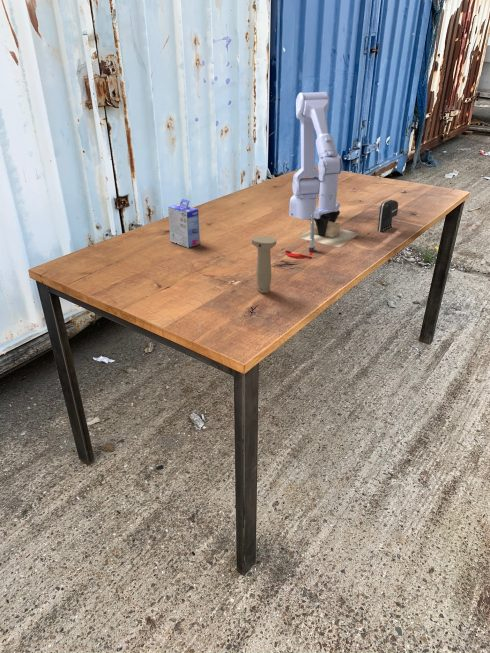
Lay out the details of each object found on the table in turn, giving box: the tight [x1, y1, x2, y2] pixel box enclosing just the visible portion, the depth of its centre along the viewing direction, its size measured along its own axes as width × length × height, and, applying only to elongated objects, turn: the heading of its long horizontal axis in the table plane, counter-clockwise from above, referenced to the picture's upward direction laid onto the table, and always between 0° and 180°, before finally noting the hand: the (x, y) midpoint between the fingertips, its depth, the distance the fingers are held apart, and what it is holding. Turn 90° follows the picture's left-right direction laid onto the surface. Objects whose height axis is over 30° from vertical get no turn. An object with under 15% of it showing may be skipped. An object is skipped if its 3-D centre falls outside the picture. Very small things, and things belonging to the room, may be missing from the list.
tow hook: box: [285, 215, 316, 259], centre depth 158 cm, size 8×13×9 cm
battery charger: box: [377, 199, 399, 234], centre depth 173 cm, size 7×4×11 cm, turn 137°
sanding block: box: [313, 221, 341, 239], centre depth 172 cm, size 8×4×4 cm, turn 53°
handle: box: [251, 235, 277, 294], centre depth 135 cm, size 5×6×15 cm
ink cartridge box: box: [167, 198, 201, 249], centre depth 168 cm, size 10×6×14 cm, turn 47°
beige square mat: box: [296, 228, 361, 248], centre depth 172 cm, size 16×16×1 cm
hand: (325, 233), depth 173 cm, fingers closed on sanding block, 4 cm apart
